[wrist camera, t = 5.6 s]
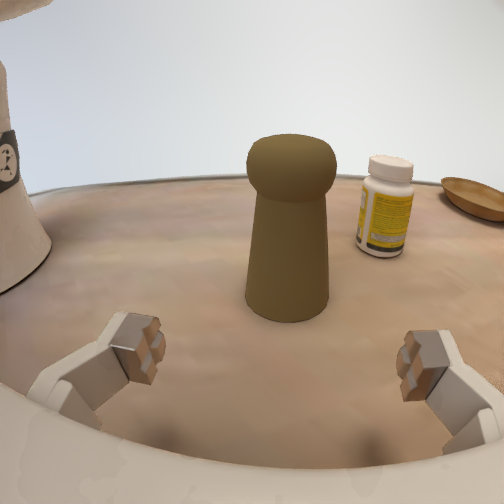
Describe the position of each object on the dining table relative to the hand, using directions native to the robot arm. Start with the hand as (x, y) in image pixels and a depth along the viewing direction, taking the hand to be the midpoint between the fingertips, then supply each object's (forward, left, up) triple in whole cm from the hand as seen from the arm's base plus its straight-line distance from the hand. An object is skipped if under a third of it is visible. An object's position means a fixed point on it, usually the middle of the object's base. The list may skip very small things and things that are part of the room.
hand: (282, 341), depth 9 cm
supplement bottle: (+12, +17, -7) cm, 22 cm away
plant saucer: (+36, +27, -7) cm, 45 cm away
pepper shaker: (+2, +11, -7) cm, 13 cm away
